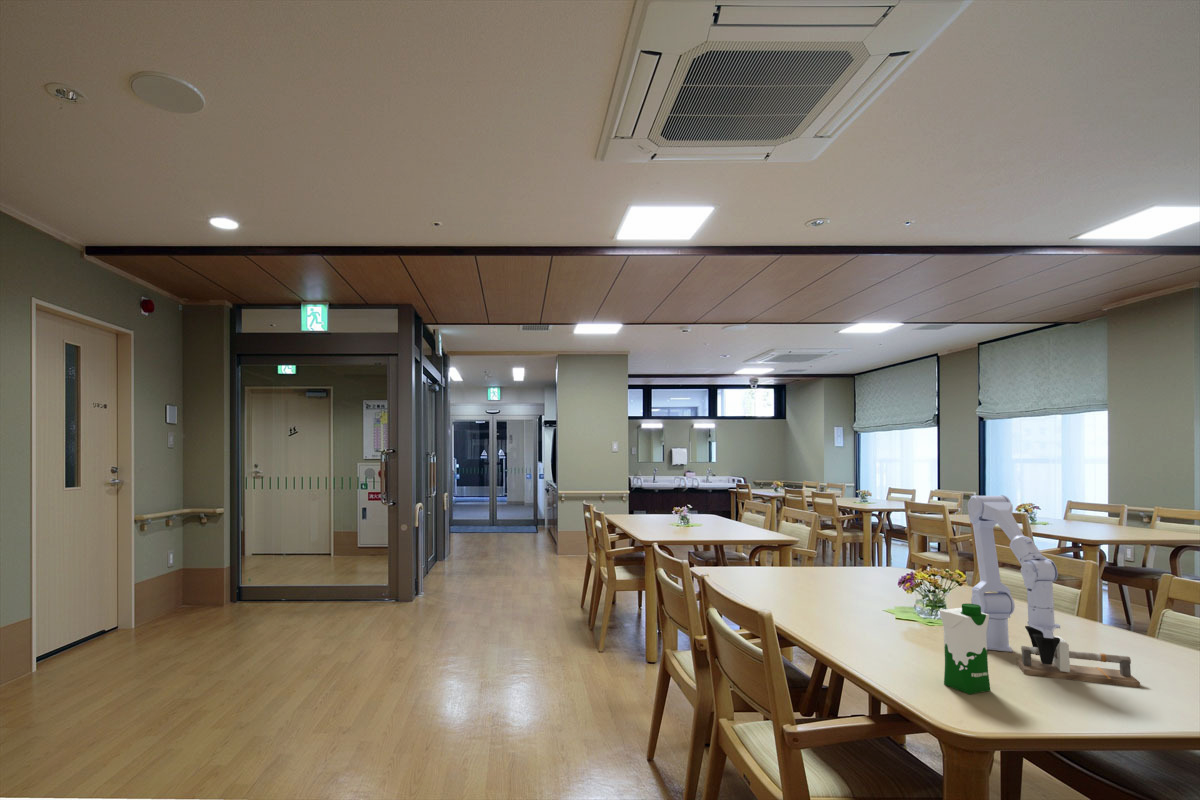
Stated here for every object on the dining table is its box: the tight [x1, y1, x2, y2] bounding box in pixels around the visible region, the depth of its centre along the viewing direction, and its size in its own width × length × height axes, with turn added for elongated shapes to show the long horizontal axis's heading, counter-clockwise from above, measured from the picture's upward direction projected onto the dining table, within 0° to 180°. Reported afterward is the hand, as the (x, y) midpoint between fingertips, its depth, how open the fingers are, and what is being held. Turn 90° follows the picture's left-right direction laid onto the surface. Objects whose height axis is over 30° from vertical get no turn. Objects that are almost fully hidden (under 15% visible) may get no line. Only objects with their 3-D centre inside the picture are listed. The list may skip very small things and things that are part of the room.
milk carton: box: [939, 603, 991, 695], centre depth 158 cm, size 9×9×20 cm
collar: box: [1053, 635, 1071, 672], centre depth 168 cm, size 2×8×7 cm, turn 158°
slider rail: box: [1016, 645, 1141, 688], centre depth 166 cm, size 24×9×6 cm, turn 67°
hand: (1043, 659), depth 169 cm, fingers open, 7 cm apart
